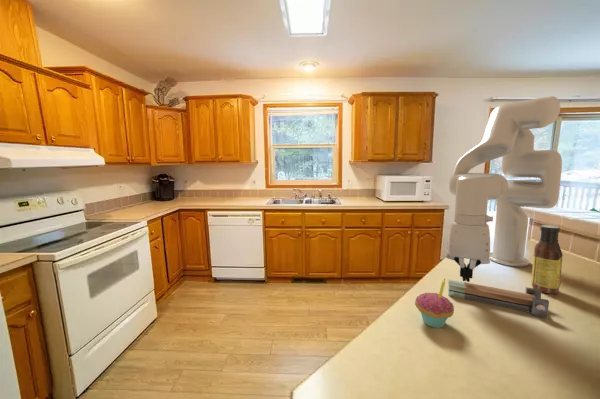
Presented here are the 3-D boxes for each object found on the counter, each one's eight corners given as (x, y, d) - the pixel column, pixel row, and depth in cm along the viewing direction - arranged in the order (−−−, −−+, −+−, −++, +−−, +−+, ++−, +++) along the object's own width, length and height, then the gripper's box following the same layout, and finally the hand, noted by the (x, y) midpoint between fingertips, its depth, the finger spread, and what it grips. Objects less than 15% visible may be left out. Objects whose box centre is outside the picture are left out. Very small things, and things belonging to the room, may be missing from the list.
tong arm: (448, 283, 79) (449, 279, 79) (533, 299, 69) (534, 294, 69) (448, 289, 75) (449, 284, 75) (538, 307, 66) (538, 302, 65)
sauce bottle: (564, 295, 74) (573, 229, 71) (539, 294, 75) (547, 229, 72) (547, 285, 80) (555, 224, 77) (525, 283, 82) (531, 223, 79)
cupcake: (448, 315, 66) (451, 271, 64) (456, 336, 58) (460, 287, 57) (412, 309, 69) (414, 268, 67) (416, 329, 61) (418, 282, 59)
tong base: (448, 286, 81) (449, 273, 80) (537, 303, 70) (539, 288, 70) (448, 298, 74) (449, 284, 73) (547, 319, 63) (550, 302, 63)
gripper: (500, 218, 72) (495, 279, 75) (440, 214, 79) (437, 270, 82) (505, 224, 65) (499, 291, 68) (439, 220, 73) (436, 280, 75)
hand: (465, 279), depth 75 cm, fingers closed
